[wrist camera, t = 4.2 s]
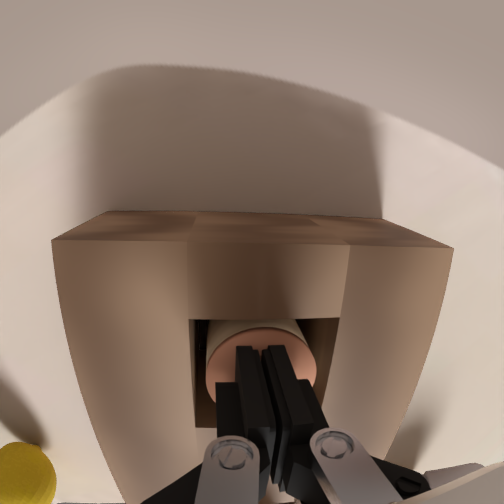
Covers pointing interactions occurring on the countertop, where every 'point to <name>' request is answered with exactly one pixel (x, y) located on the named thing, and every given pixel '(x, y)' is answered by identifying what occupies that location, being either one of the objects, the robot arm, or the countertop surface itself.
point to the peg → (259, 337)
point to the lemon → (25, 475)
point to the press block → (239, 308)
